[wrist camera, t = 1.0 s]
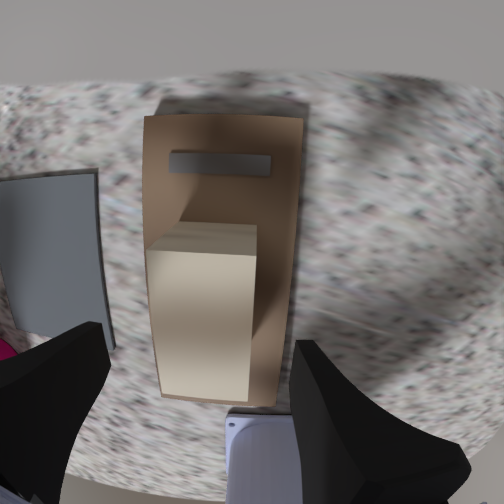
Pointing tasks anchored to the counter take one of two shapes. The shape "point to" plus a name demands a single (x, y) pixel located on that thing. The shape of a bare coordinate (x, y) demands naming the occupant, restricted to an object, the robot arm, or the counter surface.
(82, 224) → the slate mat
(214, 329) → the cap
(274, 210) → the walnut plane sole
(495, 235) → the counter surface
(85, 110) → the counter surface
